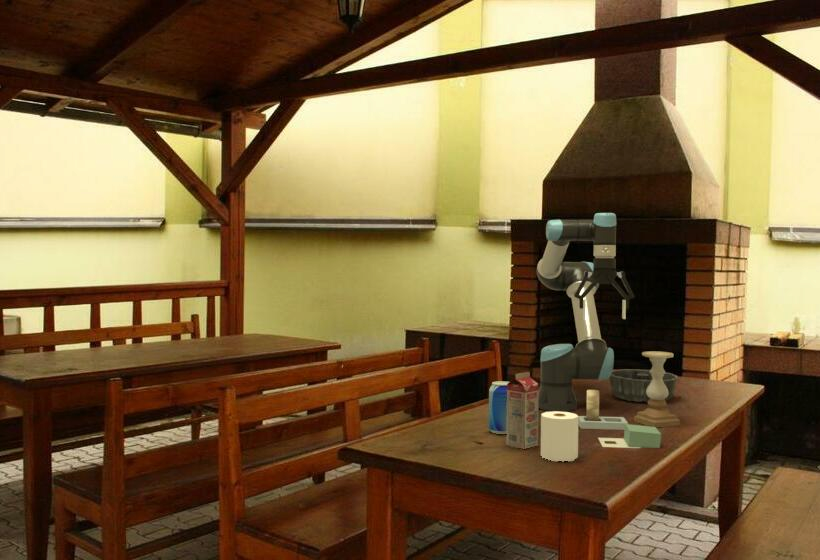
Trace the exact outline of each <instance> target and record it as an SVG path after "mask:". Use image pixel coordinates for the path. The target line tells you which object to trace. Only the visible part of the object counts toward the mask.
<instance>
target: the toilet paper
mask: <svg viewBox="0 0 820 560" xmlns="http://www.w3.org/2000/svg"><path fill="white" fill-rule="evenodd" d="M578 416H579V415H578V414H577V413H573V412H570V411H545V412H542V413H541V414H540V457H541V456H542V457H541V458H542V459H543V458H545V459H544V460H546V459H548V460H547V461H550V460H551V461H550V462H558V461H562V462H561V463H564V461H568V462H574V461H576V460H577V459H578V458H579V424H578ZM575 459H576V460H575Z"/></svg>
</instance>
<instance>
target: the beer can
mask: <svg viewBox="0 0 820 560" xmlns="http://www.w3.org/2000/svg"><path fill="white" fill-rule="evenodd" d="M509 382H510V381H505V380H504V381H501V380H498V381H497V380H496V381H492V383H491V386H490V387H489V389H488V429H489V431H490V433H491V432H493V433H496V434H507V384H508V383H509ZM493 433H492V434H493ZM496 434H495V435H496Z"/></svg>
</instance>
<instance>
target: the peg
mask: <svg viewBox="0 0 820 560" xmlns="http://www.w3.org/2000/svg"><path fill="white" fill-rule="evenodd" d="M585 416H586V421H599V417H600V390H598V389H587V390H586V415H585Z"/></svg>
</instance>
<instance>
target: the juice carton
mask: <svg viewBox="0 0 820 560" xmlns="http://www.w3.org/2000/svg"><path fill="white" fill-rule="evenodd" d="M514 376H515V379H514V380H512V381H508V382H509V383H508V384H507V435H506V446H507V445H511V446H515V447H519V448H523V449H524V442H525V449H526V448H530V447H533V446H537V445H538V446H539V408H538V394H539V389H540V386H539V385H540V383H538V382H537V381H536V380H535V379H533V378H532V377H531V374H530V371H524V372H520V373H515V374H514ZM538 446H537V447H538ZM533 448H534V447H533ZM530 449H531V448H530Z"/></svg>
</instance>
